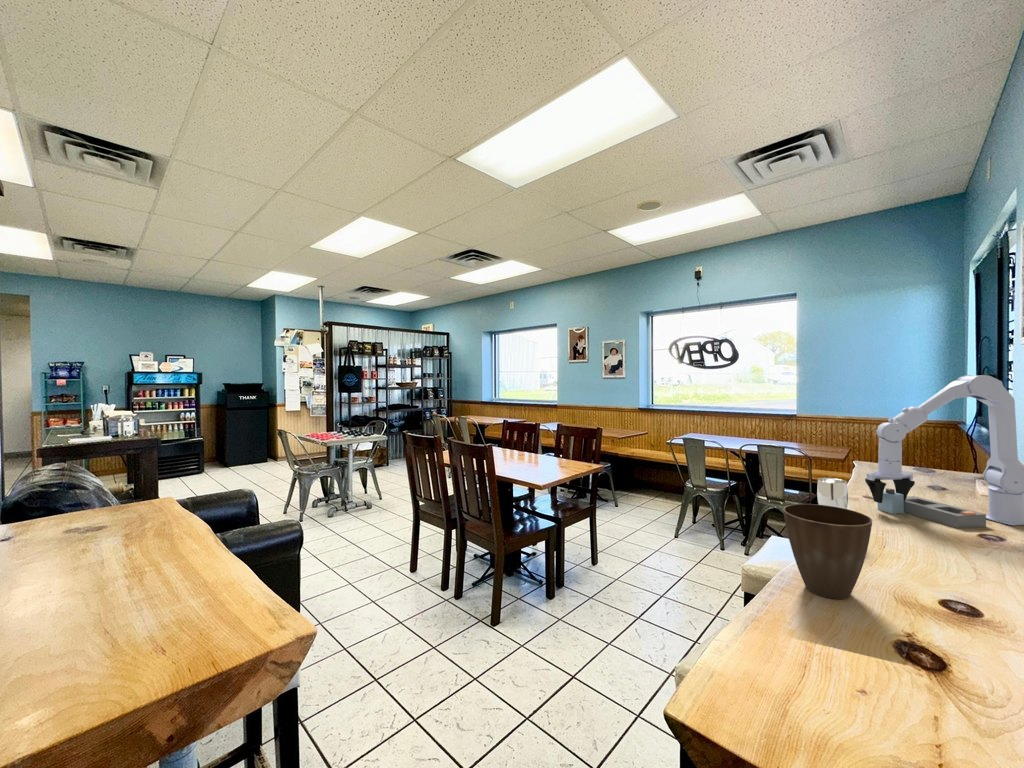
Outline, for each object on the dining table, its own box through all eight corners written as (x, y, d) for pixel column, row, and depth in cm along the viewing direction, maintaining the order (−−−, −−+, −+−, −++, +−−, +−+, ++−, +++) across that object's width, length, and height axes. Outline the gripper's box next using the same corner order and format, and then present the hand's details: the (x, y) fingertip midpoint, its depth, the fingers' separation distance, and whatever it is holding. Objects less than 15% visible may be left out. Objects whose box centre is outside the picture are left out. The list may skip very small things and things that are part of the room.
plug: (888, 508, 142) (888, 487, 142) (903, 513, 137) (903, 490, 137) (877, 509, 142) (877, 487, 142) (892, 514, 137) (892, 491, 137)
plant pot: (783, 569, 100) (782, 500, 100) (866, 583, 92) (864, 508, 92) (785, 597, 87) (784, 518, 87) (881, 617, 79) (880, 530, 79)
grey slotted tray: (914, 506, 144) (914, 494, 144) (986, 526, 124) (985, 512, 124) (889, 508, 143) (889, 495, 143) (958, 528, 123) (957, 513, 123)
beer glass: (838, 529, 124) (837, 477, 124) (855, 538, 117) (853, 483, 117) (812, 529, 125) (811, 477, 125) (827, 538, 118) (826, 483, 118)
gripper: (897, 457, 144) (897, 497, 144) (858, 458, 142) (857, 498, 143) (919, 461, 137) (919, 504, 137) (878, 462, 135) (877, 505, 136)
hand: (889, 501), depth 139 cm, fingers open, 7 cm apart
